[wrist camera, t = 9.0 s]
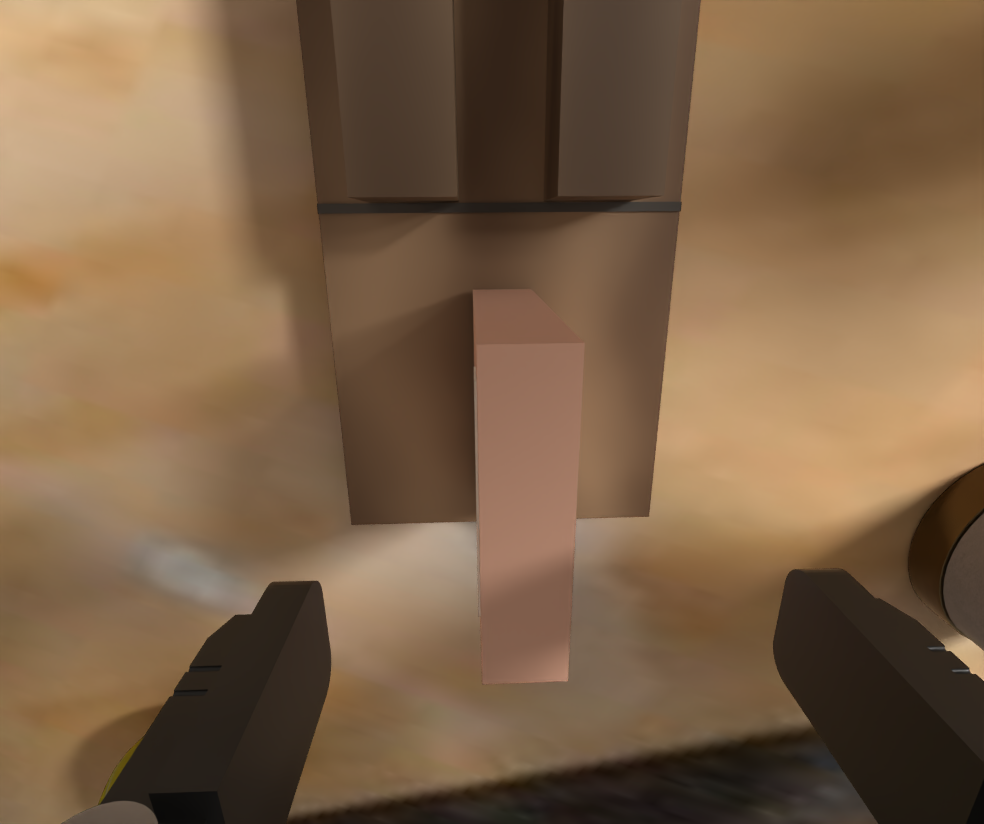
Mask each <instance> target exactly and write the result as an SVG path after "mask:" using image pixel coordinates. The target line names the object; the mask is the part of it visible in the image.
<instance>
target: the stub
mask: <svg viewBox="0 0 984 824" xmlns="http://www.w3.org/2000/svg"><path fill="white" fill-rule="evenodd" d="M473 331H474V411H475V465H476V518H477V572H478V614H479V617H480V627H481V660H482V684H507V683H533V682H558V681H568V669H569V649H570V629H571V609H572V589H573V569H574V549H575V529H576V509H577V489H578V469H579V449H580V429H581V409H582V389H583V369H584V349H585V343H584V342H583V341H582V340H581V339H580V338H579V337H578V336H577V335H576V334H575V333H574V332H573V331H572V330H571V329H570V328H569V327H568V326H567V325H566V324H565V323H564V322H563V321H562V320H561V319H560V318H559V317H558V316H557V315H556V314H555V313H554V312H553V311H552V310H551V308H550V307H549V306H548V305H547V304H546V303H545V302H544V301H543V300H542V299H541V298H540V297H539V296H538V295H537V294H536V293H535V292H534V291H533V290H532V289H490V290H473Z"/></svg>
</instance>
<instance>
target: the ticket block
mask: <svg viewBox="0 0 984 824" xmlns="http://www.w3.org/2000/svg"><path fill="white" fill-rule="evenodd" d="M700 1H701V0H296V2H297V11H298V21H299V30H300V40H301V49H302V59H303V68H304V78H305V87H306V97H307V106H308V116H309V125H310V135H311V144H312V154H313V163H314V173H315V182H316V192H317V201H318V204H317V209H318V214H319V220H320V230H321V239H322V249H323V258H324V268H325V277H326V286H327V296H328V305H329V315H330V324H331V334H332V343H333V353H334V362H335V372H336V381H337V391H338V400H339V410H340V419H341V429H342V438H343V448H344V457H345V467H346V476H347V486H348V495H349V505H350V514H351V524H352V525H362V524H398V523H434V522H470V521H477V518H476V465H475V411H474V331H473V290H490V289H532V290H533V291H534V292H535V293H536V294H537V295H538V296H539V297H540V298H541V299H542V300H543V301H544V302H545V303H546V304H547V305H548V306H549V307H550V308H551V310H552V311H553V312H554V313H555V314H556V315H557V316H558V317H559V318H560V319H561V320H562V321H563V322H564V323H565V324H566V325H567V326H568V327H569V328H570V329H571V330H572V331H573V332H574V333H575V334H576V335H577V336H578V337H579V338H580V339H581V340H582V341H583V342H584V343H585V349H584V369H583V389H582V409H581V429H580V449H579V469H578V489H577V509H576V519H578V518H614V517H649V510H650V500H651V490H652V481H653V471H654V461H655V451H656V441H657V431H658V421H659V411H660V401H661V391H662V381H663V371H664V361H665V351H666V341H667V331H668V321H669V311H670V301H671V291H672V281H673V271H674V261H675V251H676V241H677V231H678V221H679V211H681V202H680V201H681V191H682V181H683V171H684V161H685V151H686V141H687V131H688V121H689V111H690V101H691V91H692V81H693V71H694V61H695V51H696V41H697V31H698V21H699V11H700Z"/></svg>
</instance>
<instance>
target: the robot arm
mask: <svg viewBox="0 0 984 824" xmlns="http://www.w3.org/2000/svg"><path fill="white" fill-rule="evenodd" d="M773 652H774V659H775V663H776V666H777V669H778V672H779V674H780V676H781V678H782V680H783V682H784V684H785V685H786V686H787V688H788V689H789V691H790V692H791V694H792V695H793V697H794V698H795V700H796V701H797V703H798V704H799V706H800V707H801V709H802V710H803V712H804V713H805V715H806V716H807V718H808V719H809V721H810V722H811V724H812V725H813V727H814V728H815V730H816V731H817V733H818V734H819V736H820V737H821V739H822V740H823V742H824V743H825V745H826V746H827V748H828V749H829V751H830V752H831V754H832V755H833V757H834V758H835V760H836V761H837V763H838V764H839V766H840V767H841V769H842V770H843V772H844V773H845V775H846V776H847V778H848V779H849V781H850V782H851V784H852V785H853V787H854V788H855V790H856V791H857V793H858V794H859V796H860V797H861V798H862V800H863V801H864V803H865V804H866V806H867V807H868V809H869V810H870V812H871V813H872V815H873V816H874V818H875V819H876V821H877V822H878V824H984V681H983V680H982V679H981V678H980V677H979V676H978V675H976V674H971V673H970V671H969V667H968V666H966V665H965V664H964V663H963V662H962V661H961V660H960V659H959V658H958V657H957V656H955V655H954V654H953V653H952V652H951V651H946V650H945V646H944V645H943V644H942V643H941V642H940V641H939V640H938V639H937V638H935V637H934V636H933V635H932V634H931V633H930V632H929V631H928V630H927V629H925V628H924V627H923V626H922V625H921V624H920V623H919V622H918V621H917V620H915V619H914V618H912V617H910V616H908V615H907V614H905V613H903V612H902V611H900V610H898V609H897V608H895V607H893V606H891V605H890V604H888V603H886V602H885V601H883V600H881V599H880V598H878V599H875V598H874V597H873V596H872V595H871V594H870V593H869V592H868V591H867V590H866V589H865V588H864V587H863V586H862V585H861V584H860V583H858V582H857V581H856V580H855V579H854V578H853V577H852V576H851V575H850V574H849V573H847V572H846V571H844V570H843V569H839V568H830V569H795V570H792V571H791V572H790V573H789V574H788V576H787V578H786V581H785V586H784V591H783V596H782V601H781V606H780V611H779V615H778V620H777V625H776V630H775V635H774V641H773ZM189 667H190V669H189V672H186V673H185V674H184V676H183V677H182V679H181V680H180V682H179V683H178V685H177V686H176V688H175V689H174V695H173V697H169V699H168V700H167V702H166V703H165V705H164V706H163V708H162V710H161V711H160V713H159V714H158V716H157V717H156V719H155V720H154V722H153V723H152V725H151V726H150V728H149V730H148V731H147V733H146V734H145V736H144V737H143V739H142V740H141V742H140V743H139V745H138V747H137V748H136V750H135V751H134V753H133V754H132V756H131V757H130V759H129V760H128V762H127V763H126V765H125V767H124V768H123V770H122V771H121V773H120V774H119V776H118V777H117V779H116V780H115V782H114V784H113V785H112V787H111V788H110V790H109V791H108V793H107V794H106V796H105V797H104V799H103V800H102V801H101V803H100V804H99V805H98V806H95V807H93V808H90V809H87V810H85V811H83V812H81V813H79V814H77V815H75V816H73V817H71V818H70V819H68V820H66V821H65V822H63V823H61V824H286V820H287V817H288V814H289V811H290V808H291V805H292V802H293V799H294V795H295V792H296V789H297V786H298V783H299V780H300V777H301V773H302V770H303V767H304V764H305V761H306V758H307V755H308V751H309V748H310V745H311V742H312V739H313V736H314V733H315V729H316V726H317V723H318V720H319V717H320V714H321V711H322V707H323V704H324V701H325V698H326V695H327V691H328V687H329V681H330V674H331V650H330V643H329V636H328V628H327V621H326V614H325V607H324V600H323V593H322V588H321V585H320V583H319V582H318V581H289V582H272V583H270V584H269V585H268V587H267V588H266V590H265V592H264V593H263V595H262V597H261V599H260V600H259V602H258V604H257V606H256V607H255V609H254V611H253V613H252V614H247V615H235V616H234V617H232V618H231V619H230V620H229V621H228V622H227V623H225V624H224V625H223V626H222V627H221V628H219V629H218V630H217V631H216V632H215V633H213V634H212V635H211V636H210V637H209V638H208V639H207V640H206V642H205V643H204V645H203V646H202V648H201V649H200V651H199V652H198V654H197V656H196V657H195V659H194V660H193V662H192V663H191V665H190V666H189Z"/></svg>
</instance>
